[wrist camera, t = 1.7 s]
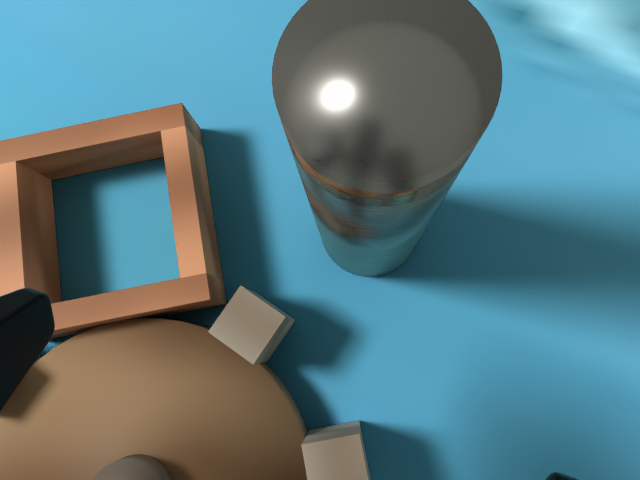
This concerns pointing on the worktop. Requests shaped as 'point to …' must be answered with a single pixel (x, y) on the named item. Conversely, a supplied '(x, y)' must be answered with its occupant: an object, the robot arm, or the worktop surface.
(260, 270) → the worktop surface
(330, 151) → the pin
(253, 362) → the sprocket
